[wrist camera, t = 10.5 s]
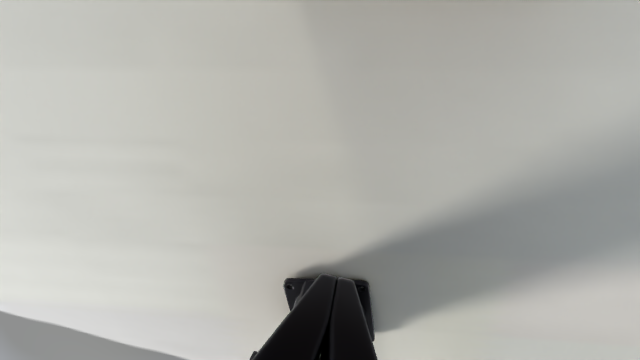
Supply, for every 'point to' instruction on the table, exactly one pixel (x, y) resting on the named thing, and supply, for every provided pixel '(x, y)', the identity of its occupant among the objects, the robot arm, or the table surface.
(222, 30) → the table surface
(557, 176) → the table surface
